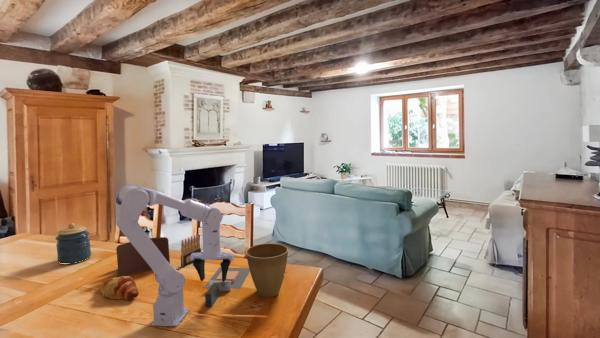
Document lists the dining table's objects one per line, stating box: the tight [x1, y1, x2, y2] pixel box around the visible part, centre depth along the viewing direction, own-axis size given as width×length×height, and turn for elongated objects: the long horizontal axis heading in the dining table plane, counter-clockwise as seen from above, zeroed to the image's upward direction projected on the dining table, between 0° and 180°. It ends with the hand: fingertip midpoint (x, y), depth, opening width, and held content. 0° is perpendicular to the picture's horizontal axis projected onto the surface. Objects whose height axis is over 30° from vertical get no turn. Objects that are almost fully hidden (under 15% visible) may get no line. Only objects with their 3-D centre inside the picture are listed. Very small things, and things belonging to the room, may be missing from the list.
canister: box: [55, 222, 92, 264], centre depth 149 cm, size 13×13×18 cm
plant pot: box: [245, 242, 289, 298], centre depth 114 cm, size 15×15×16 cm
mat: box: [203, 266, 250, 290], centre depth 127 cm, size 18×14×1 cm
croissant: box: [100, 275, 139, 301], centre depth 116 cm, size 21×10×8 cm
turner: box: [204, 279, 232, 308], centre depth 111 cm, size 12×8×5 cm
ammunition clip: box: [180, 233, 202, 268], centre depth 143 cm, size 11×2×12 cm, turn 153°
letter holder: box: [115, 236, 171, 277], centre depth 138 cm, size 10×20×14 cm, turn 121°
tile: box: [216, 271, 239, 283], centre depth 126 cm, size 2×7×7 cm
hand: (213, 280), depth 110 cm, fingers open, 7 cm apart
